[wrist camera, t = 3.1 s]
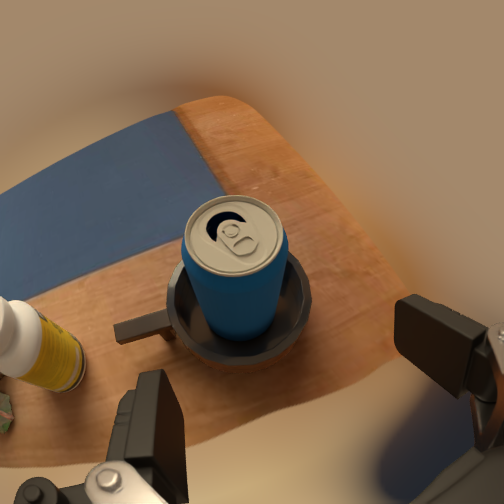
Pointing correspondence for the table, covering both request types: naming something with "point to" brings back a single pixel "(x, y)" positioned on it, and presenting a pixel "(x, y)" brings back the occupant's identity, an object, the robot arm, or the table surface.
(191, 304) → the pan
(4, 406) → the map
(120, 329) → the pan handle
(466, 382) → the robot arm
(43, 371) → the pill bottle
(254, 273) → the beverage can
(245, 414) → the table surface
